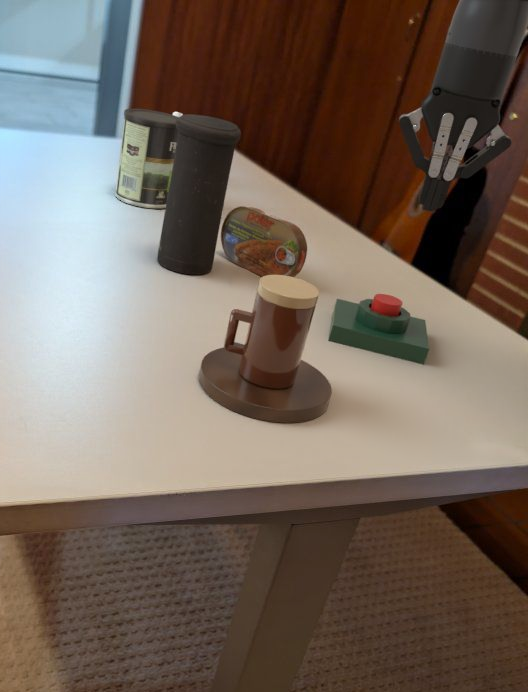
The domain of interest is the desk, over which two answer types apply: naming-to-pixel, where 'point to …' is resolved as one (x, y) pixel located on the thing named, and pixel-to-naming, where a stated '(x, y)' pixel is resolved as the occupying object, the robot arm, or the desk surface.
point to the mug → (274, 331)
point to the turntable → (264, 390)
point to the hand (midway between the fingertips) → (428, 209)
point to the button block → (379, 331)
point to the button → (386, 305)
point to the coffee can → (146, 158)
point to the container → (196, 193)
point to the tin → (263, 242)
